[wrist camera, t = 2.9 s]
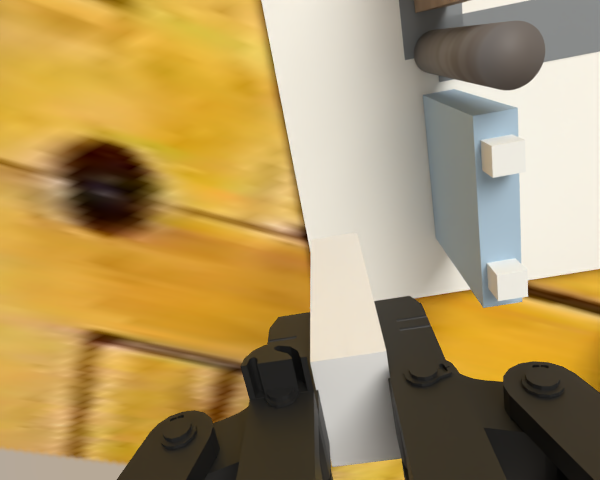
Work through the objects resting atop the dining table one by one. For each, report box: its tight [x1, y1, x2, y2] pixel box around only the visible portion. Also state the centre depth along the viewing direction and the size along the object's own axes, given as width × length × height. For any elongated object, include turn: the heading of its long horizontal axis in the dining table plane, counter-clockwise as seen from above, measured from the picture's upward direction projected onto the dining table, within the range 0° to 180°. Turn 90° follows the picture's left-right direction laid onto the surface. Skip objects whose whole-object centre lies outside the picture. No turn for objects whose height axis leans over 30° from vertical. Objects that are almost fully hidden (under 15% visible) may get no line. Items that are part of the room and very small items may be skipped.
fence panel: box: [423, 89, 528, 308], centre depth 20 cm, size 1×7×8 cm, turn 10°
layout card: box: [261, 0, 600, 301], centre depth 22 cm, size 16×21×1 cm
